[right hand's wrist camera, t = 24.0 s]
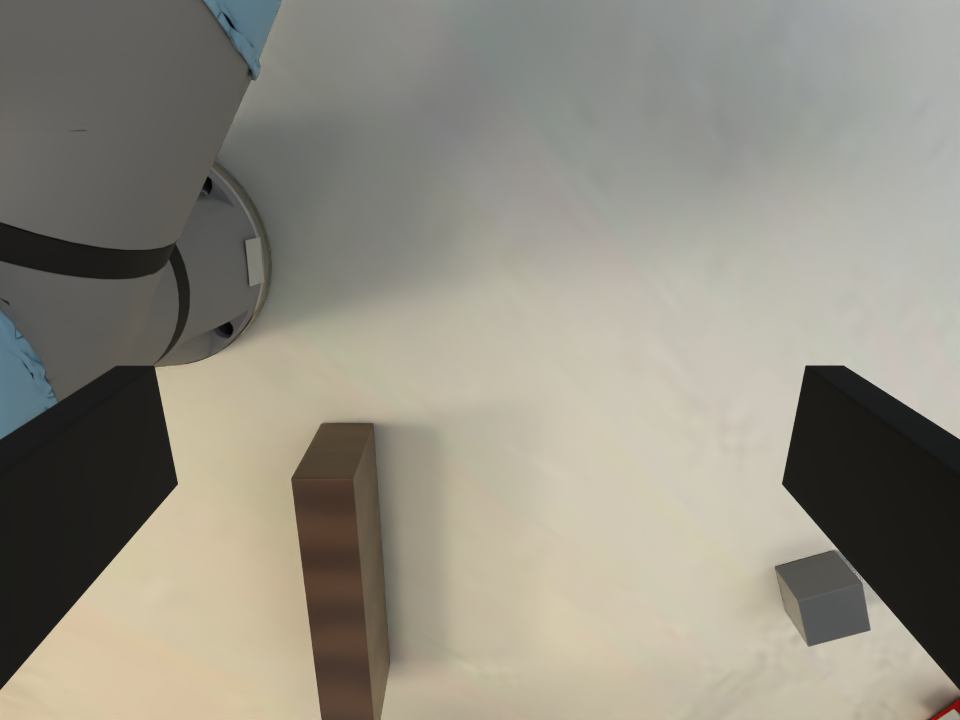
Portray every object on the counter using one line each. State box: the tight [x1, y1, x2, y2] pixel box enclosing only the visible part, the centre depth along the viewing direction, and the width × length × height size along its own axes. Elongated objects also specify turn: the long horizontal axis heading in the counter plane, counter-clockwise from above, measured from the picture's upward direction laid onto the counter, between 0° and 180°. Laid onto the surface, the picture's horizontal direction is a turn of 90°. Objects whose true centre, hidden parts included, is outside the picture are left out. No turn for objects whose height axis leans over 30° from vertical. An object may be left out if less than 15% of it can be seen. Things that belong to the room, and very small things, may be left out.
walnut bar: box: [291, 424, 390, 720], centre depth 47 cm, size 24×4×8 cm, turn 0°
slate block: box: [775, 551, 871, 646], centre depth 50 cm, size 5×5×4 cm
